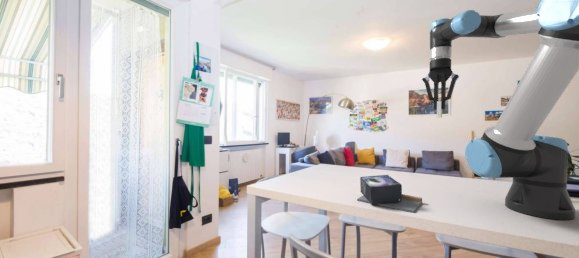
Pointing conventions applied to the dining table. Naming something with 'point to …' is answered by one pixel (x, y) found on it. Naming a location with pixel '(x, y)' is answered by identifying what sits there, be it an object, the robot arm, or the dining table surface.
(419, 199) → the grey mat
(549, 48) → the robot arm
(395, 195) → the small box
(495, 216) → the dining table surface
